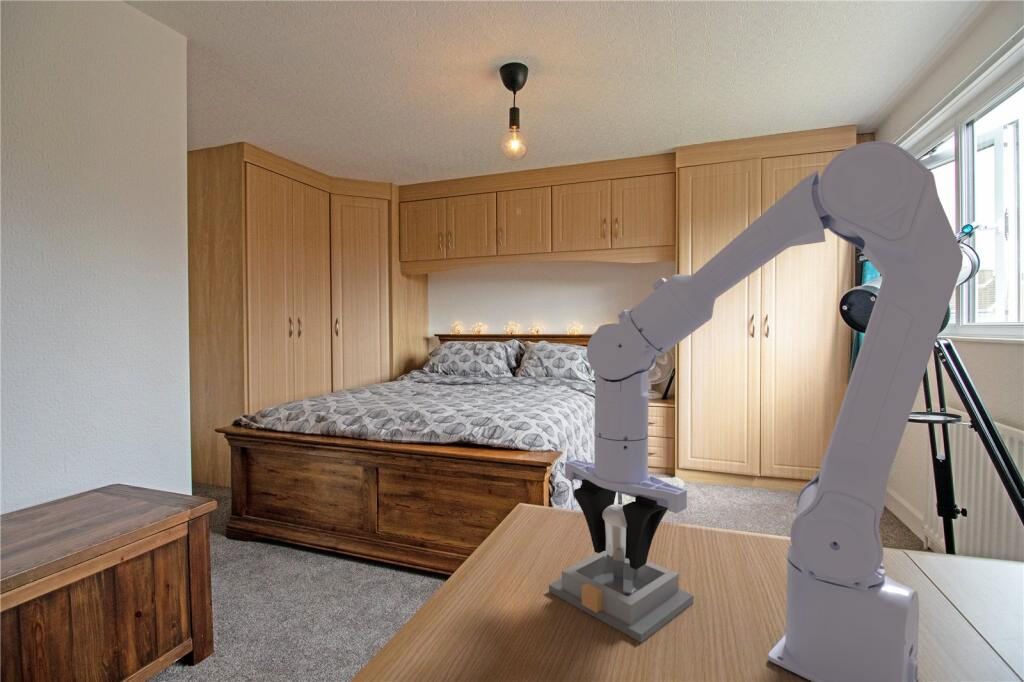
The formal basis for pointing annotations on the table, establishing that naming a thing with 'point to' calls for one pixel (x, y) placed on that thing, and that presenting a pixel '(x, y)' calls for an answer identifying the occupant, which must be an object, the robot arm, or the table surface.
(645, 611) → the box
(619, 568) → the milkshake
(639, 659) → the table surface
